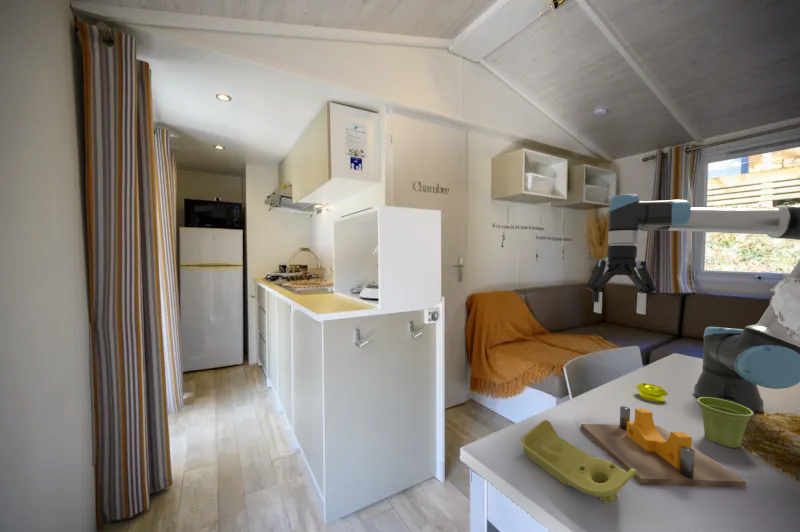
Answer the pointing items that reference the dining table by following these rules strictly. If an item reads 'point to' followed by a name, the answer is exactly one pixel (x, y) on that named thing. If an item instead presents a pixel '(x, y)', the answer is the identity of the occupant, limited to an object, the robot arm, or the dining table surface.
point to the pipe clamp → (657, 437)
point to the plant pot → (724, 420)
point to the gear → (651, 392)
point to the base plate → (658, 460)
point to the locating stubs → (686, 452)
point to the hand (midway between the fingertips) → (619, 313)
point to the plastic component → (574, 464)
